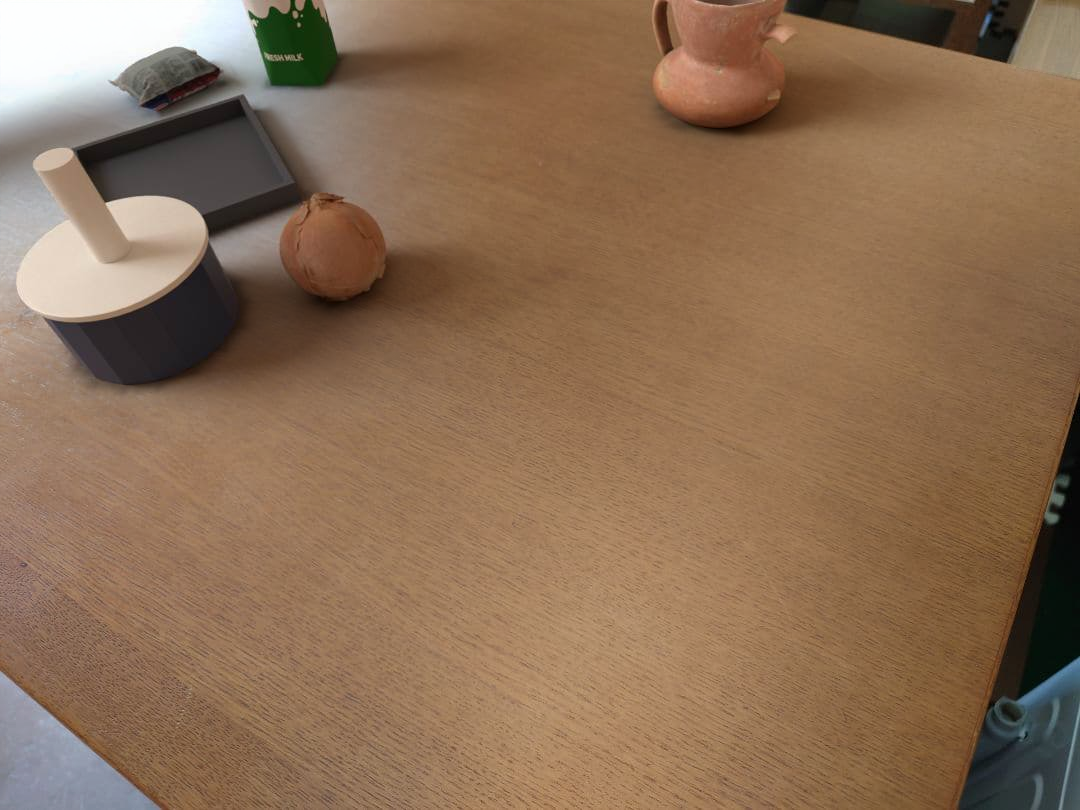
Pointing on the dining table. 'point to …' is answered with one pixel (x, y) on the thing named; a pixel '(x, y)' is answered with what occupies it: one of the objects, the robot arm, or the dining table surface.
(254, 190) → the tray
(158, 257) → the tin lid
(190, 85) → the packaged food
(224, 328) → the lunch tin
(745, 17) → the ceramic jug
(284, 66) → the milk carton
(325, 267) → the onion
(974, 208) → the dining table surface
